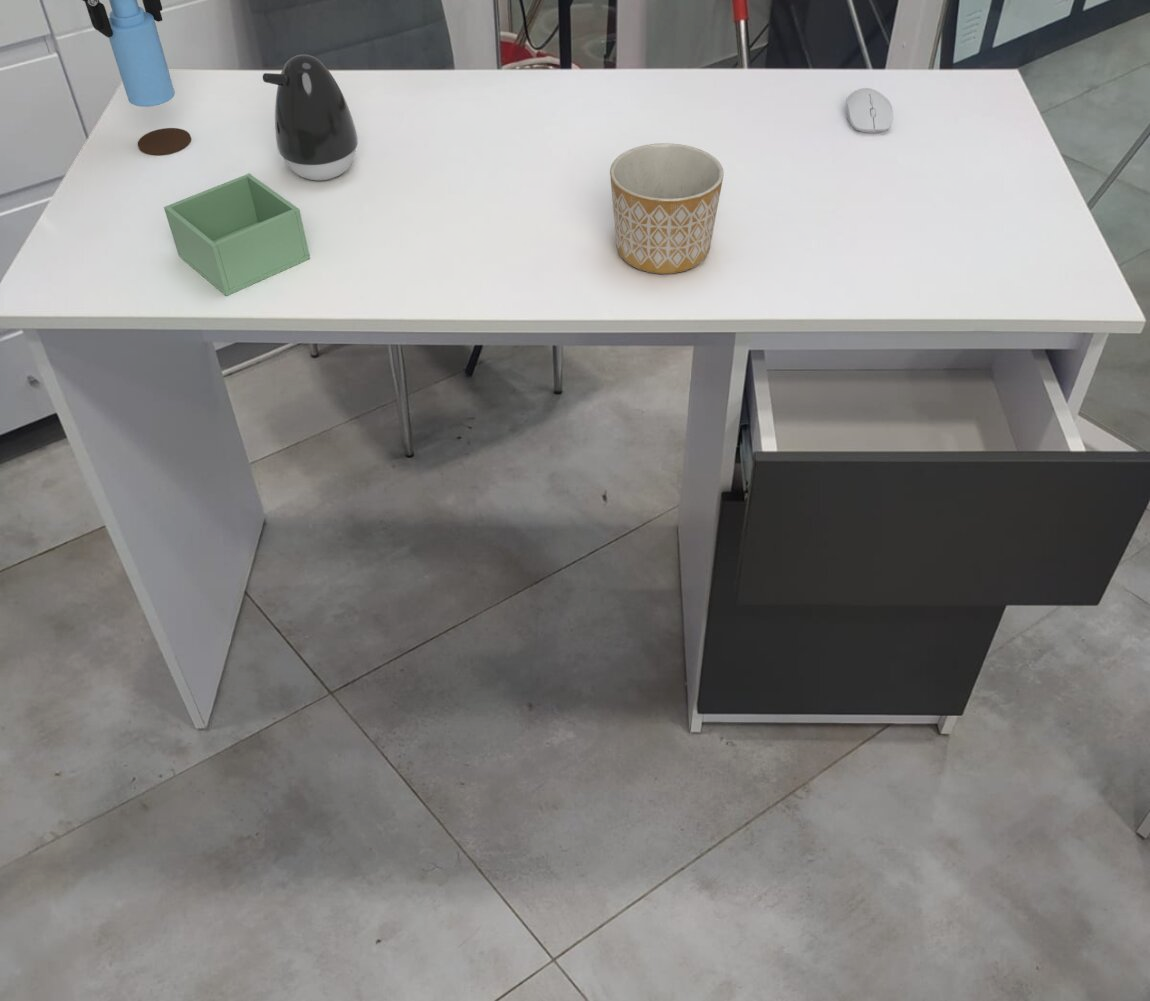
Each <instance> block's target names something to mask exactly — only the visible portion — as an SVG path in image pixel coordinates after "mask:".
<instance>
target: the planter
mask: <svg viewBox="0 0 1150 1001" xmlns="http://www.w3.org/2000/svg"><path fill="white" fill-rule="evenodd" d="M724 172H725V171H724V168H723V165H722V164H721V163H720V161H719V160H718V159H717V158H716V157H715V156H713V155H712V154H710V153H709V152H707V151H705V150H702V149H700V148H697V147H694V146H691V145H687V144H679V143H670V142H669V143H667V142H666V143H665V142H664V143H650V144H644V145H640V146H637V147H633V148H631V149H628V150H626V151H624V152H623V153H621V154H619V155H618V156H617V157H616V158H615V159H614V160H613V162H612V163H611V164H610V168H609V177H610V188H611V199H612V200H611V201H612V213H613V222H614V234H615V245H616V249H617V252H618V254H619V256H620V257H621V258H622V260H623V261H625V263H627V264H628V265H629V266H631V267H633V268H635V269H637V270H639V271H643V272H647V273H651V274H657V275H658V274H661V275H671V274H678V273H683V272H685V271H686V272H687V271H688V270H691V269H693V268H695V267H697V266H698V265H700V264H701V263H702V262H703V261H704V260H705V259H706V258H707V256H708V255H709V252H710V249H711V244H712V240H713V234H714V229H715V223H716V218H717V213H718V207H719V202H720V198H721V197H720V196H721V192H722V187H723V181H724V175H725V174H724Z"/></svg>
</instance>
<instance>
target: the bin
mask: <svg viewBox="0 0 1150 1001" xmlns="http://www.w3.org/2000/svg"><path fill="white" fill-rule="evenodd" d="M163 210H164V212H165V216H166V219H167V222H168V225H169V229H170V231H171V232H170V233H171V236H172V238H173V241H174V242H173V243H174V245H175V248H176V252H177V254H178V257H179V258H180V259H181V260H183V262H185V263H186V264H187V265H188V266H190V267H191V268H192V269H193V270H195V271H196V272H197V273H198V274H199V275H201V276H202V278H204V279H205V280H206V281H207V282H208V283H210V284H211V285H212V286H214V288H215V289H216V290H218V291H219V292H221V293H222V294H223V295H224V296H225V297H228V296H230V295H232V294H234V293H236V292H237V293H238V291H241V290H243V289H246V288H248V287H250V286H252V285H254V284H257V283H259V282H262V281H263V280H266V279H268V278H270V277H273V276H274V275H277V274H279V273H282V272H283V271H285V270H287V269H290V268H293V267H294V266H296V265H297V266H298V265H299V264H301V263H303V262H306V261H308V260H310V259H311V256H310V251H309V247H308V242H307V237H306V234H305V233H306V232H305V229H304V224H303V219H302V214H301V209H300V208H299V207H297V206H296V205H295V204H293V203H292V202H290V201H289V200H288V199H286V198H285V197H283V196H282V195H281V194H279V193H278V192H276V191H275V190H273V189H272V188H271V187H269V186H268V185H266V184H265V183H264V182H262V180H259V179H258V178H257V177H255V176H254V175H253V174H251V173H246V174H244V175H241V176H239V177H236V178H234V179H231V180H229V181H226V182H224V183H221V184H219V185H216V186H214V187H211V188H208V189H206V190H204V191H201V192H199V193H196V194H193V195H192V196H191V195H190V196H189V197H186V198H183V199H180V200H179V201H176V202H173V203H171V204H168V205H166V206H164V207H163Z"/></svg>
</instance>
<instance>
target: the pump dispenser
mask: <svg viewBox="0 0 1150 1001" xmlns="http://www.w3.org/2000/svg"><path fill="white" fill-rule="evenodd" d="M262 81H263V83H266V84H271V85H275V86H277V89H276V94H275V103H274V130H275V140H276V146H277V150H278V153H279V155H280V157H281V158H282V159H283V160H284V163H286V165H287V166H288V168H289V169H290V170H291V171H292V172H293V173H294V174H296V175H298V176H299V177H301V178H303V179H306V180H311V181H327V180H328V181H329V180H331V179H334V178H337V177H339V176H341V175H342V174H344V173H345V172H346V171H348V170H349V168H350V167H351V165H352V164H353V162H354V159H355V155H356V150H357V147H358V143H359V140H358V133H357V129H356V125H355V122H354V119H353V116H352V112H351V110H350V108H349V105H348V102H347V101H346V98H345V96H344V94H343V92H342V90H341V88H340V85H338V83H337V81H336V79H335V78H334V76H333V75H332V73H331V72H330V70H329V69H328V68H327V67H326V66H325V64H324V63H323V62H322V61H321V60H320V59H318V58H317V57H315V56H313V55H310V54H305V53H304V54H303V53H302V54H297V55H295V56H292V57H291V58H289V59H288V60H287V61H286V62H285V64H284V65H283V68H282V70H281V72H280V73H271V72H265V73H263V74H262Z"/></svg>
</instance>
